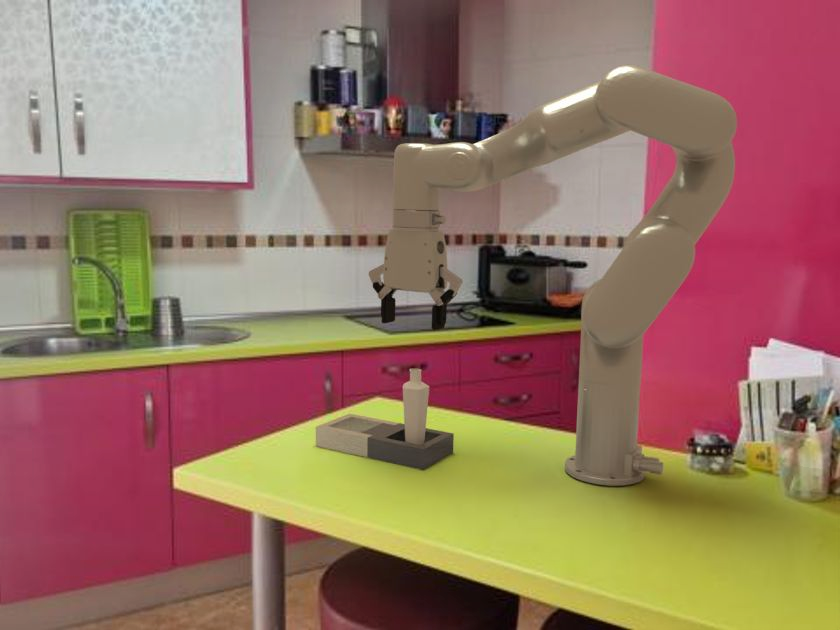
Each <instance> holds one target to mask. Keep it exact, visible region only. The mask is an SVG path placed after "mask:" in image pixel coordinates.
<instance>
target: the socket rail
mask: <svg viewBox="0 0 840 630" xmlns="http://www.w3.org/2000/svg"><path fill="white" fill-rule="evenodd" d="M454 435H455V434H454V432H447V431H443V430H437V429H434V428H433V429H432V428H426V429H425V440H424V444H422V445H417V444H412V443H408V442H405V423H400V422H396V421H390V420H384V419H381V418H374V417H370V416H363V415H359V414H354V413H347V414H344V415H342V416H340V417H337V418H335V419H332V420H330V421H327V422H324V423H322V424H319V425H316V426H315V447H318V448H323V449H327V450H331V451H337V452H340V453H343V454H344V453H345V454H350V455H354V456H358V457H363V458H366V459H367V458H368V459H371V460H376V461H380V462H385V463H390V464H395V465H399V466H404V467H407V468H412V469H417V470H421V471H425V470H426V469H428V468H430V467H432V466H434V465H436V464H437V463H439V462H440V461H442V460H443V459H445V458H447V457H449V456H451V455H453V454H454Z"/></svg>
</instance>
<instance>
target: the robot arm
mask: <svg viewBox="0 0 840 630" xmlns="http://www.w3.org/2000/svg"><path fill="white" fill-rule="evenodd" d="M737 117H738V116H737V114H736V111H735V109H734V107H733V105H732V104H730V102H729V101H728V100H727V99H725V97H723V96H722V95H719V94H718V93H715V92H712V91H710V90H707V89H704V88H702V87H699V86H695V85H693V84H690V83H688V82H684V81H681V80H678V79H676V78H672V77H670V76H668V75H665V74H661V73H659V72H657V71H654V70H651V69H648V68H646V67H642V66H639V65H634V64H633V65H632V64H626V65H619V66H617V67H614V68H613V69H611V70H610V71H609V72H607V73H606V74H605V75H604V77H602V79H601V80H600V81H597V82H594V83H593V84H590V85H588V86H585V87H584V88H581V89H579V90H575V92H572V93H568V94H567V95H564V96H562V97H559V98H557V99H555V100H552V101H550V102H547V103H544V104H542V105H540V106H537V107H536V108H535V109H533V110H532V111H531V112H530V113H528V114H527V115H526V116H525V117H524V118H523V119H522V120H521V121H519V122H518V123H516V124H514V125H512V126H511V127H509V128H507V129H505V130H504V131H503V130H502V131H501V132H499V133H497V134H494V135H492V136H490V137H487V138H484V139H482V140H480V141H477V142H475V143H470V142H465V141H460V142H459V141H458V142H457V141H456V142H450V143H441V144H432V143H424V142H423V143H422V142H421V143H420V142H419V143H418V142H410V143H409V142H407V143H406V142H405V143H401V144H399V145H397V146H396V148H395V149H394V156H393V183H392V184H393V185H392V186H393V189H392V190H393V191H392V192H393V195H392V199H393V200H392V227H391V228H390V229H389V231H388V233H387V239H386V244H385V251H384V256H383V258H384V259H383V263H382V264H380V265H379V266H377V267H375V268H372V269H371V270H369V271H368V276H369V278H370V281H371V283H372V288H373V289H374V291H375V292H376V293H377V298H378V299H380V317H381V324H388V323H393V322H395V321H396V297H393V296H394V295H395V294H396V292H397V291H406V292H413V293H415V292H416V293H426V294H427V293H428V295H429V296H430V297H431V299H432V300H433V302H434V303H435V304H433V305H432V307H431V329H432V331H438V330H441V329H442V330H443V329H445V325H446V324H447V312H448V311H447V309H448V308H447V307H448V305H449V304H450V303H451V301H452V300H453V299H454V298H456V296H457V295H458V292H459V290H460V288H461V285H462V284H463V279H462V278H461V277H459V276H458V275H457V274H455V273H454V272H452V271H451V270H449V269H448V256H447V255H448V254H447V244H446V239H445V233H444V231H443V230H440V225H445V223H446V222H447V221H446V215H442V214H441V211H440V201H441V200H440V199H441V198H440V195H441V193H440V192H441V189H446V190H450V191H455V192H476V191H479V190H482V189H484V188H487V187H489V186H492V185H495V184H497V183H500V182H502V181H504V180H508V179H511V178H512V177H516V176H517V175H520V174H522V173H525V172H527V171H530V170H532V169H535V168H537V167H540V166H544V165H545V166H546V165H547V164H551V163H552V162H553V163H554V161H557V160H559V159H562V158H564V157H567V156H569V155H572V154H575V153H577V152H579V151H581V150H584V149H587V148H589V147H592V146H594V145H596V144H599V143H601V142H604V141H605V142H606V141H609V140H611V139H613V138H615V137H618V136H620V135H623V134H626V133H627V132H630V131H632V132H634V133H636V134H639V135H641V136H644V137H646V138H649V139H652V140H655V141H657V142H660V143H662V144H665V145H668V146H670V147H671V149H672V150H673V152H674V154H675V158H676V160H675V163H676V165H675V168H674V171H673V174H672V176H671V178H670V179H669V181H668V182H667V183H666V185H665V186H664V188H663V190H662V191H661V192H660V194H659V196H658V198H657V199H656V200H655V201H654V203H653V204H652V206H651V207H650V208H649V209H648V211H647V212H646V214H645V215H644V216H643V218H642V219H641V220H640V221H639V222H638V224H637V225H636V226H635V227H634V228H633V229H632V230H631V231H630V233H629V234H628V236H627V237H626V239H625V241H624V243H625V244H624V247H623V248H622V249H621V251H620V252H619V253H618V255H617V256H616V258H615V259H614V261H613V262H612V264H611V265H610V266H609V267H608V269H607V270H606V272H605V273H604V275H602V277H601V278H600V279H597V280H596V281H594V282H593V283H592V284H591V285H590V286H589V287H588V289H587V290H586V291H585V293H584V295H583V298H582V301H581V308H580V309H581V311H580V312H581V313H580V315H581V317H580V318H581V319H580V320H581V321H580V322H581V323H580V328H581V329H580V345H579V346H580V347H579V349H580V351H579V352H580V353H579V367H578V373H579V374H578V389H577V390H578V391H577V392H578V394H577V411H576V413H577V415H576V431H575V432H576V433H575V435H576V436H575V450H574V451H575V453H574V455H572V456H570V457H568V458H567V459H566V460H565V461H564V470H565V472H566V473H567V474H568V475H569V476H571V477H572V478H574V479H577V480H579V481H582V482H583V483H584V482H585V483H589V484H593V485H599V486H612V487H613V486H614V487H618V486H619V487H621V486H629V485H634V484H637V483H641V482H642V481H643V480H645V478H646V472H647V473H650V474H655V475H660V476H661V475H663V472H664V462H661V461H660V458H659V457H653V456H647V455H646V456H645V454H644V453H643V446H642V445H638V434H639V433H638V432H639V431H638V430H639V413H640V400H641V399H640V396H641V381H642V368H643V367H642V366H643V348H644V347H643V345H644V334H645V333H646V331H648V329H649V328H650V327H651V325H652V324H653V323H654V322H655V320H656V319H657V318H658V316H660V315H659V314H661V312H662V311H663V309H664V308H665V307H666V306H667V304H668V303H669V302H670V301H671V299H672V298H673V296H675V294H676V292H677V291H678V290H679V288H681V286H682V285H683V283H684V281H685V280H686V279H687V277H688V276H689V274H690V271H691V270H692V268H693V266H694V263H695V258H696V247H695V246H696V244H697V242H698V241H699V240H700V239H701V237H702V235H703V234H704V233H705V232H706V230H707V229H708V227H709V226H710V224H711V223H712V221H713V219H715V217H716V215H717V214H718V212H719V211H720V210H721V208H722V206H723V204H725V202H726V200H727V198H728V195H729V194H730V192H731V189H732V186H733V183H734V179H735V172H736V155H735V150H734V147H733V144H732V143H733V142H732V140H733V139H734V138H735V135H736V132H737V129H738V128H737V127H738V121H737V120H738V119H737ZM382 275H383V277H382V279H383V281H382V279H381V276H382ZM448 283H449V286H448ZM447 286H448V289H446V288H447ZM445 289H446V291H445Z"/></svg>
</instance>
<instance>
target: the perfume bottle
mask: <svg viewBox="0 0 840 630" xmlns="http://www.w3.org/2000/svg"><path fill="white" fill-rule="evenodd" d="M422 371H423V370H422V369H420V368H409V381H407V382H405V383H403V385H402V401H403V402H402V403H403V420H404V423H403V424H405V442H408V443H412V444H417V445H422V444H424V440H425V429H426V427H427V416H428V415H427V414H428V406H429V396H430V386H429V385H428V384H426V383H425V382H423V381H422Z"/></svg>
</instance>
